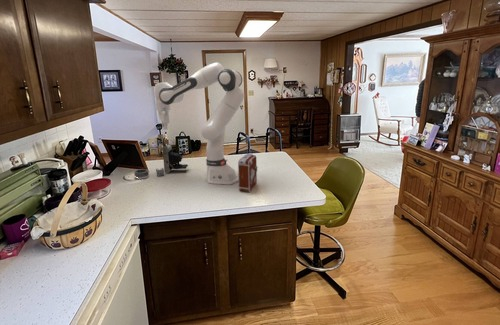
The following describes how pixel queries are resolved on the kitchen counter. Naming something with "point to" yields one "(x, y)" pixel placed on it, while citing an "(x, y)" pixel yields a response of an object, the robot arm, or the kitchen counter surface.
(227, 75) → the robot arm
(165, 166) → the vintage camera
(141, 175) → the lens barrel
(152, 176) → the kitchen counter surface
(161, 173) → the lens cap
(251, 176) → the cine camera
